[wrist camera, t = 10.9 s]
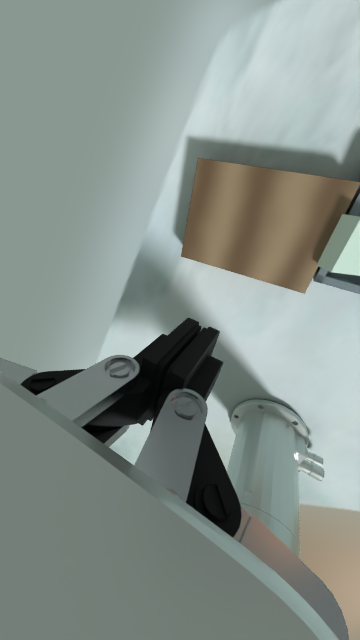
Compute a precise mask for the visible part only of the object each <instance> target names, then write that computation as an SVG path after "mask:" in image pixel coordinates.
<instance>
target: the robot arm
mask: <svg viewBox="0 0 360 640" xmlns="http://www.w3.org/2000/svg"><path fill="white" fill-rule="evenodd" d="M200 331H201V332H200ZM219 333H220V331H218V330H216V329H214V328H211V327H208V328H207V329H206V328H203V329H202V330H201V326H199V322H197V321H195V320H193V319H190V318H187V319H186V320H185V321H184V322H183V323H182V324H180V325H179V326H178V327H177V328H176V329H175V330H174V331H172V332H171V333H170V334H169V335H168V336H167V335H165V334H162V335H161V336H159V337H158V338H157V339H156V340H154V341H153V342H152V343H151V344H150V345H148V346H147V347H146V348H145V349H144V350H142V351H141V352H140V353H139V354H138V355H136V356H135V357H134V358H131V357H129V356H125V355H115V356H111V357H108V358H106V359H104V360H102V361H101V362H99V363H97V364H95V365H93V366H91V367H89V368H87V369H81V370H64V371H48V372H41V373H37V370H34V369H31V368H28V367H25V366H22V365H19V364H16V363H13V362H10V361H7V360H5V359H2V358H0V640H349V637H348V629H347V626H346V622H345V619H344V616H343V614H342V611H341V609H340V607H339V605H338V603H337V601H336V599H335V598H334V596H333V594H332V593H331V592H330V590H329V589H328V588H327V586H326V585H325V584H324V583H323V582H322V580H321V579H320V578H319V577H317V575H315V574H314V573H313V572H312V571H311V570H310V569H309V568H308V567H307V566H306V565H305V564H304V563H303V562H302V561H301V560H300V522H299V521H300V520H299V474H298V472H300V471H303V472H305V473H307V474H308V475H309V476H311V477H313V478H315V479H317V480H319V481H322V480H323V478H324V469H323V468H321V467H322V465H323V458H321V457H319V456H317V455H315V454H312V453H310V452H308V450H307V446H308V441H309V438H308V431H307V428H306V426H305V424H304V422H303V421H302V420H301V419H300V417H299V416H298V415H296V414H295V413H294V412H293V411H292V410H290V409H288V408H287V407H285V406H283V405H281V404H278V403H275V402H272V401H268V400H260V399H254V400H248V401H245V402H242V403H241V404H239V405H238V406H237V407H236V408H235V409H234V411H233V413H232V417H231V425H232V429H233V431H234V433H235V434H236V437H235V441H234V445H233V449H232V453H231V457H230V461H229V465H228V469H227V471H226V469H225V467H224V465H223V462H222V460H221V458H220V456H219V453H218V451H217V449H216V447H215V445H214V442H213V440H212V438H211V436H210V433H209V431H208V429H207V427H206V425H205V421H206V417H207V409H208V408H207V404H206V400H207V398H208V396H209V394H210V392H211V390H212V388H213V386H214V384H215V381H216V379H217V377H218V374H219V372H220V369H221V367H222V365H223V362H222V361H220V360H218V359H216V358H214V357H212V356H211V355H212V352H213V349H214V347H215V344H216V341H217V338H218V336H219ZM153 418H154V419H153ZM147 419H148V420H150V421H151V420H152V419H153V423H152V427H151V431H150V434H149V436H148V438H147V440H146V442H145V444H144V446H143V448H142V451H141V453H140V455H139V457H138V459H137V461H136V463H135V465H132V464H131V463H130V462H128V461H127V460H126V459H124V458H123V457H121V456H120V455H119V454H117V453H116V452H114V451H113V450H112V449H110V448H109V447H110V446H111V445H112V444H113V443H114V442H115V441H116V440H117V439H118V438H119V437H120V436H122V435H123V434H124V433H125V432H126V431H127V429H128V428H129V426H130V425H132V424H137V423H139V424H141V425H142V426H143V425H144V423H145V422H146V421H147ZM305 459H306V460H308V461H310V462H308V461H306V460H305Z"/></svg>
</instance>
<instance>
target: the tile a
mask: <svg viewBox="0 0 360 640" xmlns="http://www.w3.org/2000/svg"><path fill="white" fill-rule="evenodd" d="M316 266H318V267H321V268H323V269H325V270H327V271H329V272H333V273H341V274H349V275H357V276H360V217H359V216H352V215H346V214H342V216H341V218H340V220H339V222H338V224H337V226H336V228H335V230H334V232H333V234H332V235H331V237H330V239H329V241H328V243H327V245H326V247H325V249H324V251H323V253H322V255H321V257H320V259H319V261H318V263H317V265H316Z"/></svg>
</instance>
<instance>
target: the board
mask: <svg viewBox="0 0 360 640" xmlns="http://www.w3.org/2000/svg"><path fill="white" fill-rule="evenodd" d="M359 185H360V182H356V181H349V180H343V179H336V178H329V177H323V176H316V175H309V174H302V173H296V172H289V171H282V170H275V169H269V168H262V167H255V166H249V165H242V164H235V163H228V162H222V161H215V160H208V159H202V158H198V162H197V168H196V174H195V179H194V185H193V191H192V197H191V202H190V208H189V214H188V219H187V225H186V231H185V237H184V242H183V248H182V254H181V257H185V258H188V259H191V260H195V261H198V262H201V263H205V264H208V265H211V266H215V267H218V268H221V269H225V270H228V271H231V272H235V273H238V274H241V275H245V276H248V277H251V278H255V279H258V280H261V281H264V282H268V283H271V284H274V285H278V286H281V287H284V288H288V289H291V290H294V291H298V292H301V293H305V292H306V290H307V288H308V286H309V284H310V282H311V280H312V278H313V276H314V274H315V272H316V270H317V268H318V266H316V265H317V263H318V261H319V259H320V257H321V255H322V253H323V251H324V249H325V247H326V245H327V243H328V241H329V239H330V237H331V235H332V234H333V232H334V230H335V228H336V226H337V224H338V222H339V220H340V218H341V216H342V214H345V213H346V211H347V209H348V207H349V205H350V203H351V201H352V199H353V197H354V195H355V193H356V191H357V189H358V187H359Z"/></svg>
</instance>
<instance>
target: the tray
mask: <svg viewBox="0 0 360 640" xmlns="http://www.w3.org/2000/svg"><path fill="white" fill-rule="evenodd" d="M345 214H346V215H352V216H359V217H360V185H359V187H358V189H357V191H356V193H355V195H354V197H353V199H352V201H351V203H350V205H349V207H348V209H347V211H346V213H345ZM313 279H314V281H315V282H319V283H323V284H326V285H330V286H333V287H337V288H340V289H344V290H347V291H351V292H354V293H358V294H360V276H357V275H349V274H341V273H333V272H329V271H327V270H325V269H323V268H321V267H318V268H317V270H316V272H315V274H314V276H313Z"/></svg>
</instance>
